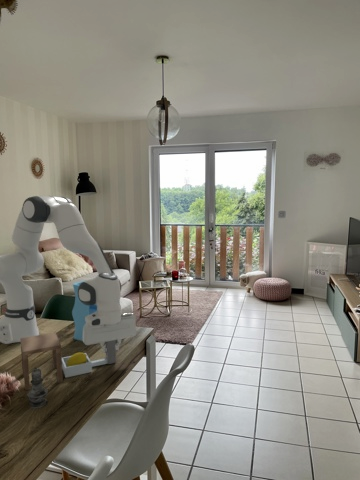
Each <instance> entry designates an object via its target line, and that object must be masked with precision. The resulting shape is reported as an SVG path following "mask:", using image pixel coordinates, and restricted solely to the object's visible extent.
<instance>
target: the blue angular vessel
mask: <svg viewBox="0 0 360 480" xmlns="http://www.w3.org/2000/svg"><path fill="white" fill-rule="evenodd" d="M84 281H87V279H86V280H82V281H79V282H74V283H72V287H73V291H74V296H75V299H74V305H73V307H72V311H71V315H72V318H73V322H74V334H73V339H74V340H77V341H81V342H83V327H84V325H85V324H86V322H85V317H86V316H88V315H90V314H92V313H94V312H96V311H97V305H85V304H83V303H82V302H81V301H80V300H79V298H78V287H79V285H80V284H81V283H82V282H84Z"/></svg>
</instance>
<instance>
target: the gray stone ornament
mask: <svg viewBox="0 0 360 480" xmlns="http://www.w3.org/2000/svg"><path fill="white" fill-rule="evenodd" d="M30 376H31V380H30V384H31V389H30V390H29V391H28V392H27V394H26V395H27V397H28V400H29V401H30V402H29V404H28V406H29V408H30V409H40V408H43V407H44V406H46V405H47V403H48V399H46V398H47V394H48V392H49V390H48V388H46V387H44V386H43V381H44V378H43V376H42V369H40V368H38V367H37V366H35V367H34V369H33V370H32V371H31V375H30Z"/></svg>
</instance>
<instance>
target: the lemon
mask: <svg viewBox="0 0 360 480" xmlns="http://www.w3.org/2000/svg"><path fill="white" fill-rule="evenodd" d="M84 353H85V352H84ZM84 353H83V352H76V353H73V354H72V355H70V356H71V357H70V358H69V360H68V363H67V364H68V366H67V367H69V366H74V365H79V364H84V363H86V360H87V358H86V356H88V354H87V353H86V354H87V355H86V354H84Z"/></svg>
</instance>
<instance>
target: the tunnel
mask: <svg viewBox="0 0 360 480" xmlns="http://www.w3.org/2000/svg"><path fill="white" fill-rule="evenodd" d="M20 341H21V342H20V353H21V355H20V357H21V368H22V376H23V378H24V381H23V382H24V390H25V391H28V390H29V391H30V390H31V380H30V371H29V370H30V368H29V357H28V356H29V355H34V354H38V353H39V354H40V353H43V352H49V351H51V352H52V353H51V355H52V368H53V369H54V370H55V369H56V375H57V377H56V378H57V383H59V384H60V383H63V382H64V380H63V379H64V377H63V376H64V374H63V370H62V358H63V356H62V345H61V342H60V340H59V337H58V335H57V333H56V332H51V333H45V334H44V333H43V334H39V335H37V336H31V337H25V338H20Z"/></svg>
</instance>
